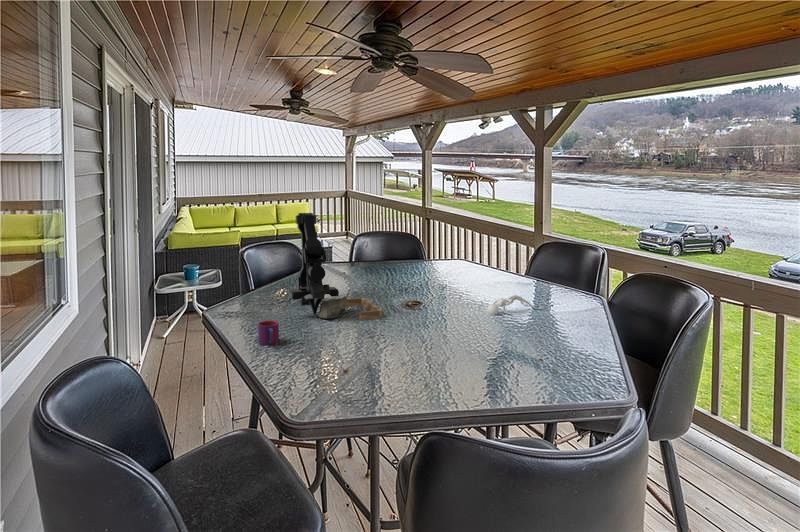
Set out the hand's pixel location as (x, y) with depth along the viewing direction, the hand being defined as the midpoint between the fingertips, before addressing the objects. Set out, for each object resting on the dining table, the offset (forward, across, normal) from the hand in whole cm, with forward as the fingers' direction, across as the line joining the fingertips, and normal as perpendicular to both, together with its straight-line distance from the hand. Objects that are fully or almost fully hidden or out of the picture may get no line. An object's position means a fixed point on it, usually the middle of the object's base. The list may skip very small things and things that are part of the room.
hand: (314, 313), depth 207 cm
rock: (+1, +7, -1) cm, 7 cm away
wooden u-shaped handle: (+1, +20, 0) cm, 20 cm away
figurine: (+1, +80, -21) cm, 83 cm away
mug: (+2, -22, -27) cm, 35 cm away
